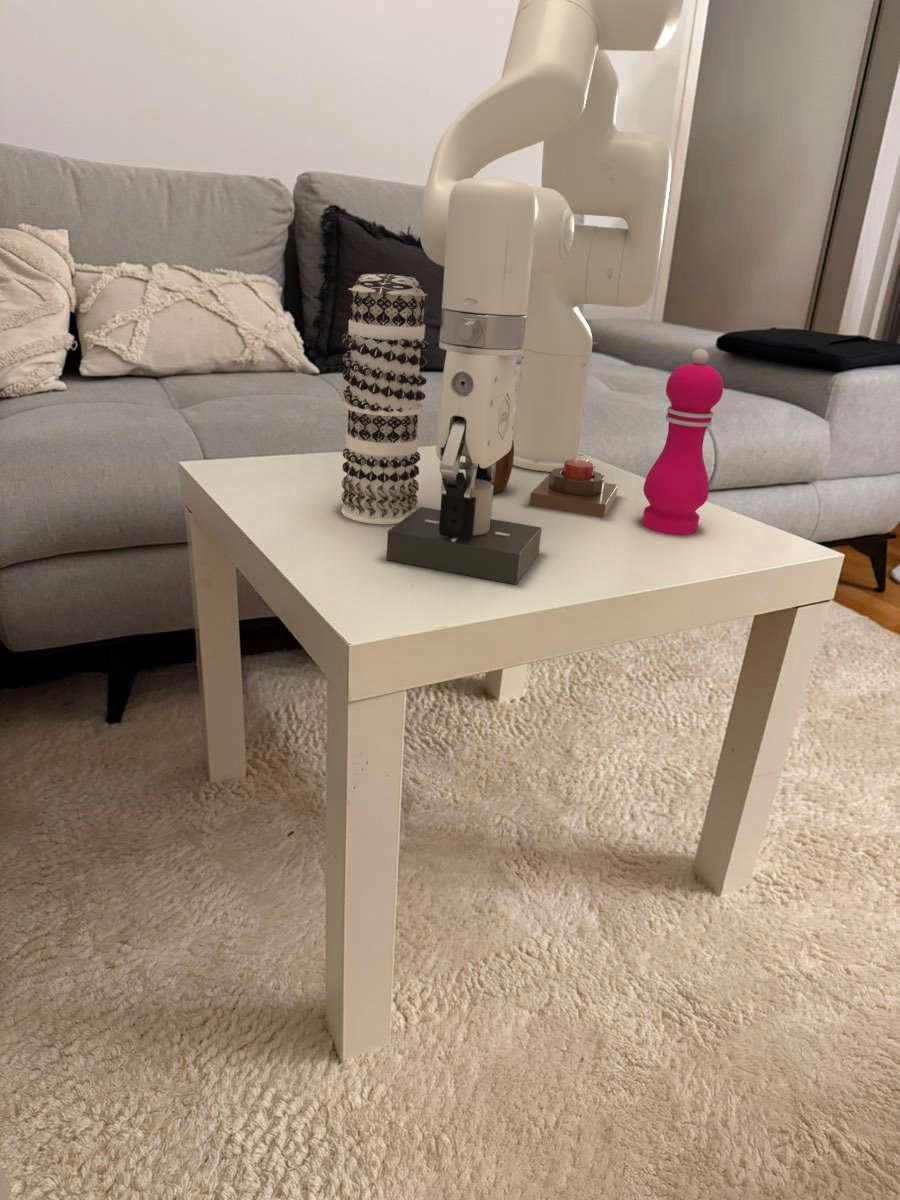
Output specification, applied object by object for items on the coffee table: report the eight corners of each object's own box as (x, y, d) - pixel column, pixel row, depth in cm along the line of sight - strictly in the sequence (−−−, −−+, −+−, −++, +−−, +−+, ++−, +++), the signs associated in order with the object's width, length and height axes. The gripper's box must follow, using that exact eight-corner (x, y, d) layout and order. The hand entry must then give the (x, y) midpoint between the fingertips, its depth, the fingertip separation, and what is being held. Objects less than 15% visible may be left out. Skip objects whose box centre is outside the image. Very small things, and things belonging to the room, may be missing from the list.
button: (565, 471, 106) (567, 458, 106) (594, 476, 105) (596, 462, 105) (560, 478, 103) (561, 464, 102) (589, 482, 102) (591, 468, 101)
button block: (547, 486, 111) (550, 460, 110) (616, 497, 109) (620, 470, 107) (529, 506, 102) (532, 477, 101) (603, 518, 100) (607, 489, 98)
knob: (494, 526, 84) (499, 479, 82) (481, 538, 80) (485, 489, 79) (453, 518, 86) (456, 472, 84) (437, 530, 82) (441, 482, 80)
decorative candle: (361, 529, 90) (369, 277, 80) (324, 504, 97) (328, 270, 87) (435, 520, 94) (451, 281, 85) (394, 497, 101) (405, 274, 92)
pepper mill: (633, 529, 97) (663, 348, 89) (642, 513, 103) (671, 342, 95) (698, 541, 94) (734, 356, 87) (703, 523, 101) (738, 349, 93)
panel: (418, 533, 90) (420, 505, 89) (538, 555, 86) (542, 525, 85) (386, 560, 82) (387, 529, 81) (516, 584, 78) (519, 552, 77)
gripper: (496, 345, 67) (476, 561, 74) (544, 332, 82) (523, 512, 89) (407, 335, 69) (396, 546, 76) (470, 324, 84) (456, 501, 91)
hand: (465, 526), depth 82 cm, fingers open, 5 cm apart
